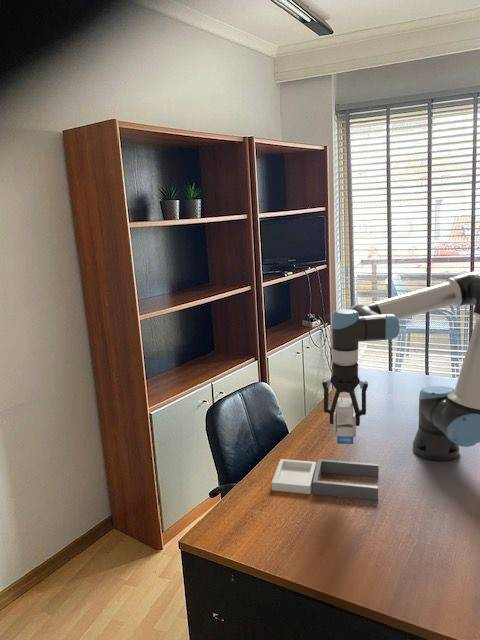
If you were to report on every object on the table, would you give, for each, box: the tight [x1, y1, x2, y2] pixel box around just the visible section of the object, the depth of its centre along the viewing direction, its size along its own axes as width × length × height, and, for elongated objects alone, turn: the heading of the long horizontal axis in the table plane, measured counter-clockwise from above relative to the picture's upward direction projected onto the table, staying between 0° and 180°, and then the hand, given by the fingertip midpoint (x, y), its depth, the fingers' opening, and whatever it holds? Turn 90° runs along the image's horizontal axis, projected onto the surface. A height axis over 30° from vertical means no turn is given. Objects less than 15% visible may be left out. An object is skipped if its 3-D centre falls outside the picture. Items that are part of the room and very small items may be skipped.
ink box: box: [336, 396, 354, 445], centre depth 155 cm, size 9×5×12 cm, turn 169°
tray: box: [271, 458, 317, 495], centre depth 164 cm, size 12×15×3 cm
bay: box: [312, 458, 380, 501], centre depth 160 cm, size 19×14×4 cm
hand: (344, 434), depth 156 cm, fingers closed on ink box, 5 cm apart
